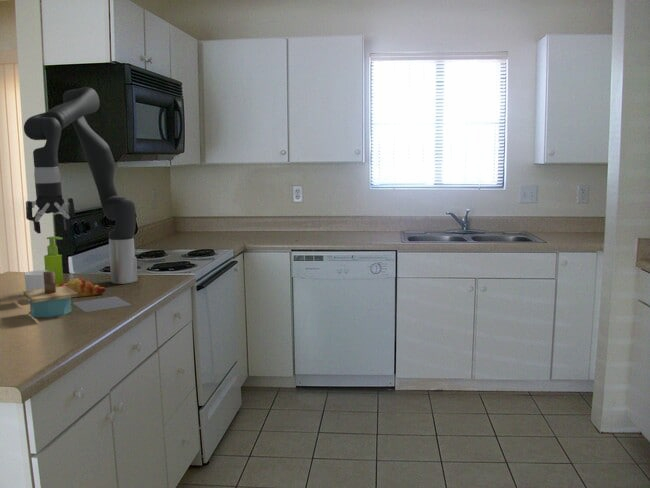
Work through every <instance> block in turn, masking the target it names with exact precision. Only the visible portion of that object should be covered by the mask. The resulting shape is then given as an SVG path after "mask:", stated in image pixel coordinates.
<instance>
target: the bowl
mask: <svg viewBox="0 0 650 488" xmlns="http://www.w3.org/2000/svg"><path fill="white" fill-rule="evenodd" d="M29 306H30V307H29V308H30V316H31V317H32V318H34V319H35V320H36V319H37V318H38V317H39V318H53V317H59V316H65V315H66V314H68V313H70V312H72V311H73V309H72V297H71V298H64V299H56V300H49V301H42V302H35V303H33V302H32V301H31V300H30V301H29Z"/></svg>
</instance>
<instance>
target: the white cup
mask: <svg viewBox="0 0 650 488" xmlns="http://www.w3.org/2000/svg"><path fill="white" fill-rule="evenodd" d="M43 272H47V271H45V269H44V270H39V269H38V270H30V271H27V272H25V273H24V281H25V291H31V290H39V289H44V274H43ZM27 301H28V302H30V300H29V299H28V298H27Z"/></svg>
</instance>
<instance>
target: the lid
mask: <svg viewBox="0 0 650 488" xmlns="http://www.w3.org/2000/svg"><path fill="white" fill-rule="evenodd" d="M43 274H44V289H39V290H31V291H26V290H24V291H22V295H23V296H24V297H26V298H27V300H28V299H29V300H31V301H32V302H33V303H35V302H42V301H49V300H56V299H64V298H71V299H72V298H77V297H78V293H76V292H75V291H73V290H72V289H70V288H68V287H67V286H62V287H56V286H55V272H54V271H47V272H43ZM78 298H79V297H78Z"/></svg>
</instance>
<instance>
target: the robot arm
mask: <svg viewBox="0 0 650 488" xmlns="http://www.w3.org/2000/svg"><path fill="white" fill-rule="evenodd" d="M62 100H63V103H61V104H58V105H55V106H54V107H52V108H50V109H49V110H47V111H46V112H42V113H38V114H35V115H32V116H30V117H28V118H27V119H26V120H25V122H24V124H23V131H24V134H25V135H26V137H27V138H28V139H30V140H33V141H45V144H44V146H42V147H41V146H40V147H37V148H35V149H34V150H33V152H32V157H33V158H32V159H33V169H34V171H33V176H34V186H35V196H36V197H35V198H36V199H35V200H33V201H30V200H26V202H25V215H26V216H25V217H26V218H25V219H26V220H28V221H32V222H33V230H34V232H36V233H37V234H38V235H39V234H42V231H41V223H40V219H41V218H42V217H43V216H44V215H45V214H52V213H54V214H57V213H59V214H60V215H61V216H62V217H63V229H64V231H69V229H70V228H71V224H70V223H71V221H70V219H71V218H72V217H75V216H76V209H75V205H74V204H75V203H74V199H73V198H72V197H67V198H64V197H63V191H62V182H61V181H62V177H61V172H60V169H59V157H58V151H59V145H60V140H61V136H62V130H63V129H65V128H66V127H68V126H69V125H70V124H72V125H73V128H74V130H75V132H76V134H77V136H78V139H79V141H80V145H81V148H82V149H83V153H84V156H85V159H86V162H87V165H88V167H89V169H90V171H91V175H92V177H93V180H94V184H95V187H96V189H97V192H98V197H99V201H100V205H101V209H102V211H103V214H104V215H105V218H107V219H108V220H111V221H115V222H114V223H115V224H114V228H113V229H112V230H110V231H109V232H108V246H109V267H110V270H109V271H110V282H111V283H112V284H116V285H117V284H118V285H121V284H122V285H123V284H131V283H135V282H138V265H137V264H138V262H137V261H138V260H137V256H136V255H135V239H134V237H135V235H134V234H135V232H136V220H137V219H136V212H137V211H136V206H135V203H134V201H133V200H132V199H130V198H129V197H120V196H119V194H118V193H117V190H116V187H115V184H114V176H115V169H116V168H115V167H116V164H115V163H116V162H115V159H114V156H113V153H112V151H111V147H110V146H109V144H108V143H107V142H106V141H105V140H104V139H103V138H102V137H101V136H100V135H99V134H97V133H96V132H95V131H94V130H93V129H92V127H91V126H90V125H89V124H88V122H87V120H86V119H85V116H86V115H92V114H93V113H96V112H97V111H98V110H99V108H100V97H99V95H98V93H97V92H96V90H95V89H94V88H92V87H89V86H88V87H86V86H85V87H80V88H74V89H70V90H66V91H64V92H63V95H62ZM64 203H65V205H66V206H67V209H68V213H67V211H65V209H64V208H63V205H64ZM35 205H36V207H38V209H37V211H36V212H35V215H34V216H33V209H34V208H35Z"/></svg>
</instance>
